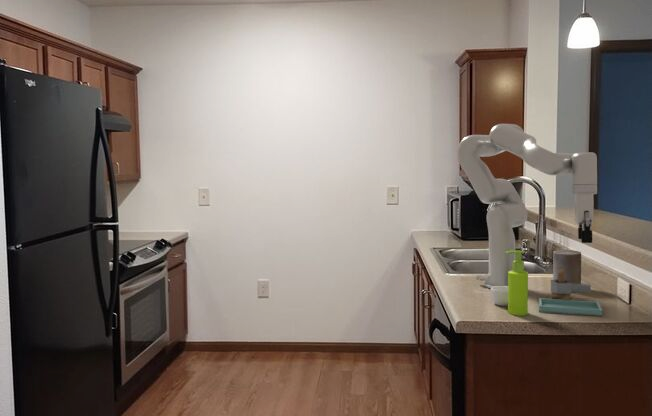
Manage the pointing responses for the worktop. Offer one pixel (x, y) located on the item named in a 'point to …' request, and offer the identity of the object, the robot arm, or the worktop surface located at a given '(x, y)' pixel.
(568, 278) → the pillar candle
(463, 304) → the worktop surface
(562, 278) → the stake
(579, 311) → the tray
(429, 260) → the worktop surface
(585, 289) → the wrench
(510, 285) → the soap dispenser
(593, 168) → the robot arm
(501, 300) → the teacup
